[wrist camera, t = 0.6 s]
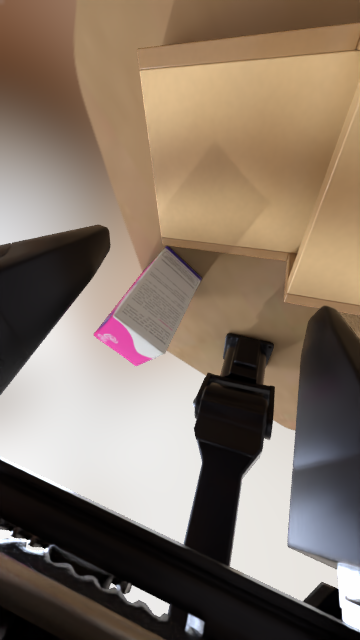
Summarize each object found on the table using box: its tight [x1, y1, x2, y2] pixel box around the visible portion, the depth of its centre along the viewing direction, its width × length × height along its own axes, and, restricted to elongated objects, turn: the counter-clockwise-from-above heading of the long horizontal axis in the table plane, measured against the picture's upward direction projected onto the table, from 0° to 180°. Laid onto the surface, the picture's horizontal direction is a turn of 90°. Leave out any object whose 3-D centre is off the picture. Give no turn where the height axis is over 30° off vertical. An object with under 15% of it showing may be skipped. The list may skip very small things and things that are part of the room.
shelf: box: [137, 22, 360, 315], centre depth 14 cm, size 12×19×8 cm, turn 95°
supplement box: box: [94, 246, 202, 366], centre depth 25 cm, size 6×6×12 cm
